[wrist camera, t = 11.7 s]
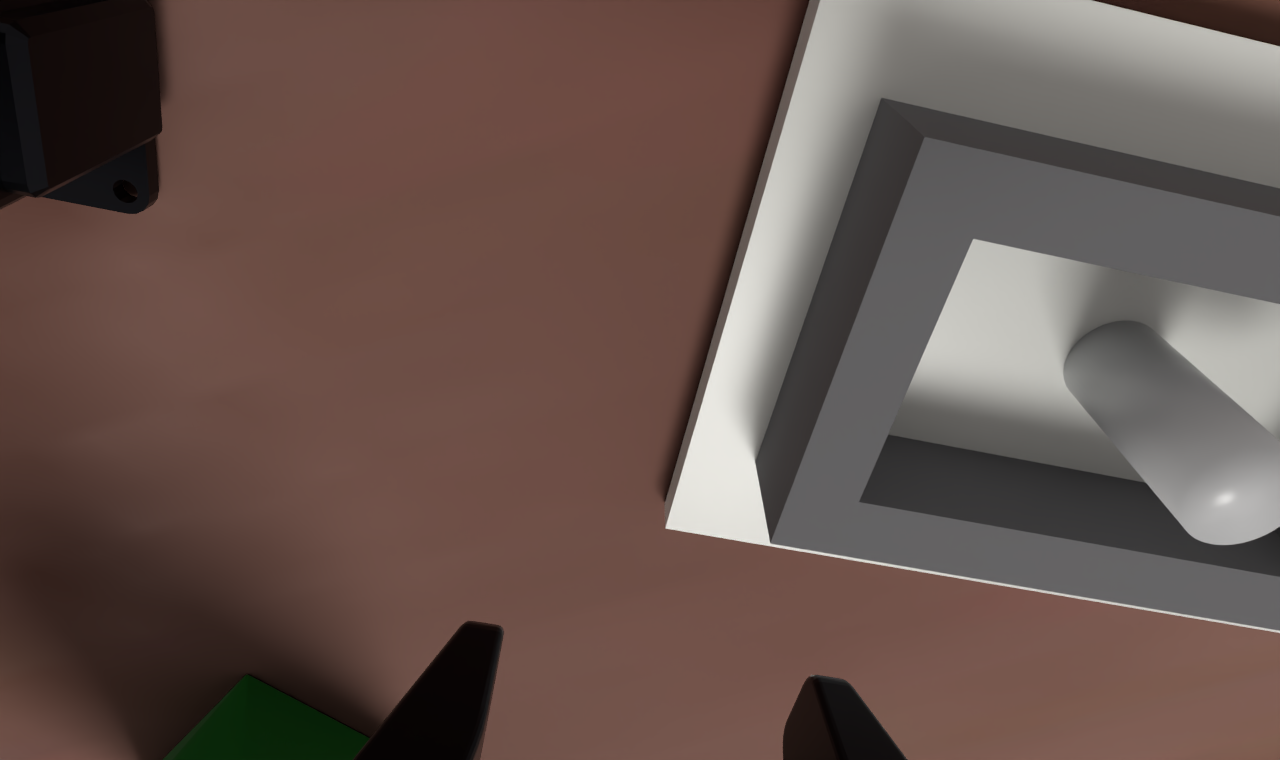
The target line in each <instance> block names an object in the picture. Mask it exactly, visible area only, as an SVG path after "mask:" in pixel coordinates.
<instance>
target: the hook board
mask: <svg viewBox="0 0 1280 760" xmlns="http://www.w3.org/2000/svg"><path fill="white" fill-rule="evenodd" d="M881 98H885V99H890V100H894V101H898V102H903V103H907V104H911V105H916V106H920V107H925V108H929V109H933V110H938V111H942V112H947V113H951V114H955V115H960V116H964V117H969V118H973V119H977V120H982V121H986V122H990V123H995V124H999V125H1004V126H1008V127H1012V128H1017V129H1021V130H1026V131H1030V132H1034V133H1039V134H1043V135H1047V136H1052V137H1056V138H1061V139H1065V140H1069V141H1074V142H1078V143H1083V144H1087V145H1091V146H1096V147H1100V148H1105V149H1109V150H1113V151H1118V152H1122V153H1126V154H1131V155H1135V156H1140V157H1144V158H1148V159H1153V160H1157V161H1162V162H1166V163H1170V164H1175V165H1179V166H1184V167H1188V168H1192V169H1197V170H1201V171H1205V172H1210V173H1214V174H1219V175H1223V176H1227V177H1232V178H1236V179H1241V180H1245V181H1249V182H1254V183H1258V184H1262V185H1267V186H1271V187H1276V188H1280V46H1277V45H1273V44H1268V43H1264V42H1260V41H1256V40H1252V39H1248V38H1244V37H1240V36H1236V35H1232V34H1228V33H1224V32H1220V31H1215V30H1211V29H1207V28H1203V27H1199V26H1195V25H1191V24H1187V23H1183V22H1179V21H1175V20H1171V19H1167V18H1162V17H1158V16H1154V15H1150V14H1146V13H1142V12H1138V11H1134V10H1130V9H1126V8H1122V7H1118V6H1114V5H1109V4H1105V3H1101V2H1097V1H1093V0H809V4H808V7H807V11H806V14H805V18H804V21H803V25H802V28H801V32H800V35H799V39H798V42H797V46H796V49H795V53H794V56H793V60H792V63H791V67H790V70H789V73H788V77H787V80H786V84H785V87H784V91H783V94H782V98H781V101H780V105H779V108H778V112H777V115H776V119H775V122H774V126H773V129H772V133H771V136H770V140H769V143H768V147H767V150H766V153H765V157H764V160H763V164H762V167H761V171H760V174H759V178H758V181H757V185H756V188H755V192H754V195H753V199H752V202H751V206H750V209H749V213H748V216H747V220H746V223H745V226H744V230H743V233H742V237H741V240H740V244H739V247H738V251H737V254H736V258H735V261H734V265H733V268H732V272H731V275H730V279H729V282H728V286H727V289H726V293H725V296H724V299H723V303H722V306H721V310H720V313H719V317H718V320H717V324H716V327H715V331H714V334H713V338H712V341H711V345H710V348H709V352H708V355H707V359H706V362H705V366H704V369H703V372H702V376H701V379H700V383H699V386H698V390H697V393H696V397H695V400H694V404H693V407H692V411H691V414H690V418H689V421H688V425H687V428H686V432H685V435H684V439H683V442H682V445H681V449H680V452H679V456H678V459H677V463H676V466H675V470H674V473H673V477H672V480H671V484H670V487H669V491H668V494H667V498H666V501H665V528H666V529H672V530H678V531H684V532H690V533H696V534H702V535H708V536H713V537H719V538H725V539H731V540H737V541H743V542H749V543H755V544H761V545H766V546H772V547H778V548H784V549H790V550H796V551H802V552H808V553H813V554H819V555H825V556H831V557H837V558H843V559H849V560H855V561H860V562H866V563H872V564H878V565H884V566H890V567H896V568H902V569H908V570H913V571H919V572H925V573H931V574H937V575H943V576H949V577H955V578H960V579H966V580H972V581H978V582H984V583H990V584H996V585H1002V586H1008V587H1013V588H1019V589H1025V590H1031V591H1037V592H1043V593H1049V594H1055V595H1060V596H1066V597H1072V598H1078V599H1084V600H1090V601H1096V602H1102V603H1107V604H1113V605H1119V606H1125V607H1131V608H1137V609H1143V610H1149V611H1155V612H1160V613H1166V614H1172V615H1178V616H1184V617H1190V618H1196V619H1202V620H1207V621H1213V622H1219V623H1225V624H1231V625H1237V626H1243V627H1249V628H1254V629H1260V630H1266V631H1272V632H1278V633H1280V631H1279V630H1273V629H1267V628H1261V627H1255V626H1250V625H1244V624H1238V623H1232V622H1226V621H1220V620H1215V619H1209V618H1203V617H1197V616H1191V615H1185V614H1179V613H1174V612H1168V611H1162V610H1156V609H1150V608H1144V607H1138V606H1133V605H1127V604H1121V603H1115V602H1109V601H1103V600H1098V599H1092V598H1086V597H1080V596H1074V595H1068V594H1062V593H1057V592H1051V591H1045V590H1039V589H1033V588H1027V587H1021V586H1016V585H1010V584H1004V583H998V582H992V581H986V580H980V579H975V578H969V577H963V576H957V575H951V574H945V573H940V572H934V571H928V570H922V569H916V568H910V567H904V566H899V565H893V564H887V563H881V562H875V561H869V560H863V559H858V558H852V557H846V556H840V555H834V554H828V553H823V552H817V551H811V550H805V549H799V548H793V547H787V546H782V545H776V544H770V539H769V534H768V529H767V523H766V518H765V513H764V507H763V502H762V497H761V491H760V486H759V481H758V475H757V470H756V464H755V462H756V459H757V456H758V453H759V450H760V447H761V444H762V442H763V439H764V436H765V433H766V430H767V427H768V424H769V421H770V418H771V415H772V413H773V410H774V407H775V404H776V401H777V398H778V395H779V392H780V389H781V387H782V384H783V381H784V378H785V375H786V372H787V369H788V366H789V363H790V361H791V358H792V355H793V352H794V349H795V346H796V343H797V340H798V337H799V335H800V332H801V329H802V326H803V323H804V320H805V317H806V314H807V311H808V309H809V306H810V303H811V300H812V297H813V294H814V291H815V288H816V285H817V283H818V280H819V277H820V274H821V271H822V268H823V265H824V262H825V259H826V257H827V254H828V251H829V248H830V245H831V242H832V239H833V236H834V233H835V231H836V228H837V225H838V222H839V219H840V216H841V213H842V210H843V207H844V205H845V202H846V199H847V196H848V193H849V190H850V187H851V184H852V181H853V179H854V176H855V173H856V170H857V167H858V164H859V161H860V158H861V155H862V153H863V150H864V147H865V144H866V141H867V138H868V135H869V132H870V129H871V126H872V124H873V121H874V118H875V115H876V112H877V109H878V106H879V103H880V100H881ZM888 435H893V436H899V437H904V438H909V439H915V440H920V441H925V442H931V443H936V444H941V445H947V446H952V447H958V448H963V449H968V450H974V451H979V452H984V453H990V454H995V455H1000V456H1006V457H1011V458H1016V459H1022V460H1027V461H1032V462H1038V463H1043V464H1049V465H1054V466H1059V467H1065V468H1070V469H1075V470H1081V471H1086V472H1091V473H1097V474H1102V475H1107V476H1113V477H1118V478H1123V479H1129V480H1134V481H1140V482H1145V483H1147V484H1148V486H1149V487H1150V488H1151V489H1152V490H1153V492H1154V493H1155V494H1156V495H1157V496H1158V498H1159V499H1160V500H1161V501H1162V502H1163V504H1164V505H1165V506H1166V507H1167V508H1168V510H1169V511H1170V512H1171V513H1172V514H1173V516H1174V517H1175V518H1176V519H1177V520H1178V522H1179V523H1180V524H1181V525H1182V526H1183V528H1184V529H1185V530H1186V531H1187V532H1188V534H1190V535H1191V536H1192V537H1194V538H1195V539H1197V540H1199V541H1202V542H1204V543H1209V544H1214V545H1233V544H1239V543H1244V542H1248V541H1251V540H1254V539H1257V538H1260V537H1262V536H1264V535H1266V534H1268V533H1270V532H1272V531H1274V530H1275V529H1277V528H1278V527H1280V304H1277V303H1272V302H1268V301H1263V300H1258V299H1253V298H1249V297H1244V296H1239V295H1235V294H1230V293H1225V292H1221V291H1216V290H1211V289H1206V288H1202V287H1197V286H1192V285H1188V284H1183V283H1178V282H1174V281H1169V280H1164V279H1160V278H1155V277H1150V276H1145V275H1141V274H1136V273H1131V272H1127V271H1122V270H1117V269H1113V268H1108V267H1103V266H1099V265H1094V264H1089V263H1084V262H1080V261H1075V260H1070V259H1066V258H1061V257H1056V256H1052V255H1047V254H1042V253H1037V252H1033V251H1028V250H1023V249H1019V248H1014V247H1009V246H1005V245H1000V244H995V243H991V242H986V241H981V240H976V239H973V240H972V243H971V245H970V247H969V250H968V252H967V254H966V257H965V259H964V261H963V263H962V266H961V268H960V270H959V273H958V275H957V277H956V280H955V282H954V284H953V287H952V289H951V291H950V293H949V296H948V298H947V300H946V303H945V305H944V307H943V310H942V312H941V314H940V316H939V319H938V321H937V323H936V326H935V328H934V330H933V333H932V335H931V337H930V339H929V342H928V344H927V346H926V349H925V351H924V353H923V356H922V358H921V360H920V362H919V365H918V367H917V369H916V372H915V374H914V376H913V379H912V381H911V383H910V386H909V388H908V390H907V392H906V395H905V397H904V399H903V402H902V404H901V406H900V409H899V411H898V413H897V415H896V418H895V420H894V422H893V425H892V427H891V429H890V432H889V434H888Z"/></svg>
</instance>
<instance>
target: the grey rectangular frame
mask: <svg viewBox="0 0 1280 760" xmlns="http://www.w3.org/2000/svg"><path fill="white" fill-rule="evenodd" d="M973 239H976V240H981V241H986V242H991V243H995V244H1000V245H1005V246H1009V247H1014V248H1019V249H1023V250H1028V251H1033V252H1037V253H1042V254H1047V255H1052V256H1056V257H1061V258H1066V259H1070V260H1075V261H1080V262H1084V263H1089V264H1094V265H1099V266H1103V267H1108V268H1113V269H1117V270H1122V271H1127V272H1131V273H1136V274H1141V275H1145V276H1150V277H1155V278H1160V279H1164V280H1169V281H1174V282H1178V283H1183V284H1188V285H1192V286H1197V287H1202V288H1206V289H1211V290H1216V291H1221V292H1225V293H1230V294H1235V295H1239V296H1244V297H1249V298H1253V299H1258V300H1263V301H1268V302H1272V303H1277V304H1280V188H1276V187H1271V186H1267V185H1262V184H1258V183H1254V182H1249V181H1245V180H1241V179H1236V178H1232V177H1227V176H1223V175H1219V174H1214V173H1210V172H1205V171H1201V170H1197V169H1192V168H1188V167H1184V166H1179V165H1175V164H1170V163H1166V162H1162V161H1157V160H1153V159H1148V158H1144V157H1140V156H1135V155H1131V154H1126V153H1122V152H1118V151H1113V150H1109V149H1105V148H1100V147H1096V146H1091V145H1087V144H1083V143H1078V142H1074V141H1069V140H1065V139H1061V138H1056V137H1052V136H1047V135H1043V134H1039V133H1034V132H1030V131H1026V130H1021V129H1017V128H1012V127H1008V126H1004V125H999V124H995V123H990V122H986V121H982V120H977V119H973V118H969V117H964V116H960V115H955V114H951V113H947V112H942V111H938V110H933V109H929V108H925V107H920V106H916V105H911V104H907V103H903V102H898V101H894V100H890V99H885V98H881V100H880V103H879V106H878V109H877V112H876V115H875V118H874V121H873V124H872V126H871V129H870V132H869V135H868V138H867V141H866V144H865V147H864V150H863V153H862V155H861V158H860V161H859V164H858V167H857V170H856V173H855V176H854V179H853V181H852V184H851V187H850V190H849V193H848V196H847V199H846V202H845V205H844V207H843V210H842V213H841V216H840V219H839V222H838V225H837V228H836V231H835V233H834V236H833V239H832V242H831V245H830V248H829V251H828V254H827V257H826V259H825V262H824V265H823V268H822V271H821V274H820V277H819V280H818V283H817V285H816V288H815V291H814V294H813V297H812V300H811V303H810V306H809V309H808V311H807V314H806V317H805V320H804V323H803V326H802V329H801V332H800V335H799V337H798V340H797V343H796V346H795V349H794V352H793V355H792V358H791V361H790V363H789V366H788V369H787V372H786V375H785V378H784V381H783V384H782V387H781V389H780V392H779V395H778V398H777V401H776V404H775V407H774V410H773V413H772V415H771V418H770V421H769V424H768V427H767V430H766V433H765V436H764V439H763V442H762V444H761V447H760V450H759V453H758V456H757V459H756V462H755V464H756V470H757V475H758V481H759V486H760V491H761V497H762V502H763V507H764V513H765V518H766V523H767V529H768V534H769V539H770V544H776V545H782V546H787V547H793V548H799V549H805V550H811V551H817V552H823V553H828V554H834V555H840V556H846V557H852V558H858V559H863V560H869V561H875V562H881V563H887V564H893V565H899V566H904V567H910V568H916V569H922V570H928V571H934V572H940V573H945V574H951V575H957V576H963V577H969V578H975V579H980V580H986V581H992V582H998V583H1004V584H1010V585H1016V586H1021V587H1027V588H1033V589H1039V590H1045V591H1051V592H1057V593H1062V594H1068V595H1074V596H1080V597H1086V598H1092V599H1098V600H1103V601H1109V602H1115V603H1121V604H1127V605H1133V606H1138V607H1144V608H1150V609H1156V610H1162V611H1168V612H1174V613H1179V614H1185V615H1191V616H1197V617H1203V618H1209V619H1215V620H1220V621H1226V622H1232V623H1238V624H1244V625H1250V626H1255V627H1261V628H1267V629H1273V630H1279V631H1280V527H1278V528H1277V529H1275V530H1274V531H1272V532H1270V533H1268V534H1266V535H1264V536H1262V537H1260V538H1257V539H1254V540H1251V541H1248V542H1244V543H1239V544H1233V545H1214V544H1209V543H1204V542H1202V541H1199V540H1197V539H1195V538H1194V537H1192V536H1191V535H1190V534H1188V532H1187V531H1186V530H1185V529H1184V528H1183V526H1182V525H1181V524H1180V523H1179V522H1178V520H1177V519H1176V518H1175V517H1174V516H1173V514H1172V513H1171V512H1170V511H1169V510H1168V508H1167V507H1166V506H1165V505H1164V504H1163V502H1162V501H1161V500H1160V499H1159V498H1158V496H1157V495H1156V494H1155V493H1154V492H1153V490H1152V489H1151V488H1150V487H1149V486H1148V484H1147V483H1145V482H1140V481H1134V480H1129V479H1123V478H1118V477H1113V476H1107V475H1102V474H1097V473H1091V472H1086V471H1081V470H1075V469H1070V468H1065V467H1059V466H1054V465H1049V464H1043V463H1038V462H1032V461H1027V460H1022V459H1016V458H1011V457H1006V456H1000V455H995V454H990V453H984V452H979V451H974V450H968V449H963V448H958V447H952V446H947V445H941V444H936V443H931V442H925V441H920V440H915V439H909V438H904V437H899V436H893V435H888V434H889V432H890V429H891V427H892V425H893V422H894V420H895V418H896V415H897V413H898V411H899V409H900V406H901V404H902V402H903V399H904V397H905V395H906V392H907V390H908V388H909V386H910V383H911V381H912V379H913V376H914V374H915V372H916V369H917V367H918V365H919V362H920V360H921V358H922V356H923V353H924V351H925V349H926V346H927V344H928V342H929V339H930V337H931V335H932V333H933V330H934V328H935V326H936V323H937V321H938V319H939V316H940V314H941V312H942V310H943V307H944V305H945V303H946V300H947V298H948V296H949V293H950V291H951V289H952V287H953V284H954V282H955V280H956V277H957V275H958V273H959V270H960V268H961V266H962V263H963V261H964V259H965V257H966V254H967V252H968V250H969V247H970V245H971V243H972V240H973Z"/></svg>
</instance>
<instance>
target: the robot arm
mask: <svg viewBox="0 0 1280 760" xmlns="http://www.w3.org/2000/svg"><path fill="white" fill-rule="evenodd" d="M161 131H162V117H161V103H160V89H159V75H158V61H157V47H156V32H155V18H154V10H153V8H152V7H151V5H150V4H149V2H148V1H147V0H0V209H2V208H4V207H6V206H8V205H10V204H12V203H14V202H16V201H18V200H20V199H22V198H24V197H26V196H30V197H35V198H36V197H45V198H50V199H55V200H61V201H66V202H71V203H76V204H81V205H86V206H91V207H96V208H102V209H107V210H112V211H117V212H122V213H127V214H137V213H139V212H141V211H144V210H145V209H147V208H148V207H150V206H151V205H153V204H154V203H155V201H156V200H157V199H158V192H159V187H158V174H157V161H156V148H155V137H156V136H157V135H158V134H160V133H161ZM123 180H126V181H128V182H130V183H131V184H132V185H133V186H134V187H135V188H136V190H137V193H138V196H137V197H135V196H132V195H130V194H129V193H128V192H127V191H126V190H125V189H124V186H123ZM503 635H504V631H503V628H502V627H501V626H499V625H495V624H488V623H482V622H475V621H467V622H465V623H464V624H463V625H461V627H460V628H459V629H458V630H457V631H456V633H455V634H454V635H453V636H452V637H451V639H450V640H449V641H448V642H447V644H446V645H445V646H444V647H443V649H442V650H441V651H440V652H439V654H438V655H437V656H436V657H435V659H434V660H433V661H432V662H431V663H430V665H429V666H428V667H427V668H426V670H425V671H424V672H423V673H422V675H421V676H420V677H419V678H418V680H417V681H416V682H415V683H414V685H413V686H412V687H411V688H410V689H409V691H408V692H407V693H406V694H405V696H404V697H403V698H402V699H401V701H400V702H399V703H398V704H397V706H396V707H395V708H394V709H393V710H392V712H391V713H390V714H389V715H388V717H387V718H386V719H385V720H384V722H383V723H382V724H381V725H380V727H379V728H378V729H377V730H376V732H375V733H374V734H373V735H372V736H371V738H370V739H369V740H368V741H367V743H366V744H365V745H364V746H363V748H362V749H361V750H360V751H359V753H358V754H357V755H356V756H355V758H354V759H353V760H480V757H481V752H482V747H483V742H484V736H485V731H486V726H487V721H488V715H489V710H490V705H491V700H492V694H493V689H494V684H495V678H496V673H497V668H498V662H499V657H500V651H501V646H502V641H503ZM783 760H907V759H906V757H905V756H904V755H903V753H902V752H901V751H900V749H899V748H898V747H897V745H896V744H895V743H894V741H893V740H892V739H891V737H890V736H889V735H888V733H887V732H886V731H885V729H884V728H883V727H882V725H881V724H880V723H879V721H878V720H877V719H876V717H875V716H874V715H873V713H872V712H871V711H870V709H869V708H868V707H867V705H866V704H865V703H864V701H863V700H862V699H861V697H860V696H859V695H858V693H857V692H856V691H855V689H854V688H853V687H852V686H851V685H850V684H849V683H848V682H847V681H845V680H843V679H839V678H833V677H826V676H820V675H811V676H810V677H808V678H807V679H806V681H805V682H804V684H803V686H802V689H801V691H800V693H799V695H798V697H797V700H796V702H795V704H794V706H793V708H792V711H791V713H790V715H789V717H788V719H787V722H786V725H785V729H784V735H783Z"/></svg>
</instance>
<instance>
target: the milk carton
mask: <svg viewBox="0 0 1280 760" xmlns="http://www.w3.org/2000/svg"><path fill="white" fill-rule="evenodd" d="M369 739H370V738H368V737H366V736H365V735H363V734H361V733H359V732H357V731H355V730H353V729H351V728H349V727H347V726H345V725H344V724H342V723H340V722H338V721H336V720H334V719H332V718H330V717H328V716H326V715H324V714H322V713H321V712H319V711H317V710H315V709H313V708H311V707H309V706H307V705H305V704H303V703H301V702H300V701H298V700H296V699H294V698H292V697H290V696H288V695H286V694H284V693H282V692H280V691H278V690H277V689H275V688H273V687H271V686H269V685H267V684H265V683H263V682H261V681H259V680H257V679H255V678H254V677H252V676H250V675H245V676H244V677H243V678H242V679H241V680H240V681H239V682H238V683H237V684H236V685H235V686H234V687H233V688H232V689H231V690H230V691H229V692H228V694H227V695H226V696H225V697H224V698H223V699H222V700H221V701H220V702H219V703H218V704H217V705H216V706H215V707H214V708H213V709H212V710H211V711H210V712H209V713H208V714H207V715H206V716H205V717H204V718H203V719H202V720H201V721H200V722H199V723H198V724H197V725H196V726H195V727H194V728H193V729H192V730H191V731H190V732H189V733H188V734H187V735H186V736H185V737H184V738H183V739H182V740H181V741H180V742H179V743H178V744H177V745H176V746H175V747H174V749H173V750H172V751H171V752H170V753H169V754H168V755H167V756H166V757H165V758H164V759H163V760H353V759H354V758H355V756H356V755H357V754H358V753H359V751H360V750H361V749H362V748H363V746H364V745H365V744H366V743H367V741H368V740H369Z"/></svg>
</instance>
